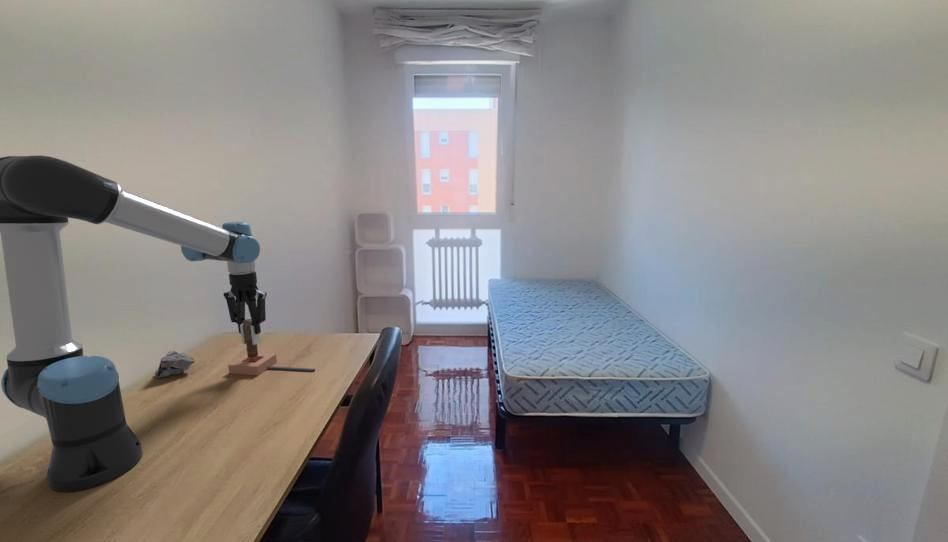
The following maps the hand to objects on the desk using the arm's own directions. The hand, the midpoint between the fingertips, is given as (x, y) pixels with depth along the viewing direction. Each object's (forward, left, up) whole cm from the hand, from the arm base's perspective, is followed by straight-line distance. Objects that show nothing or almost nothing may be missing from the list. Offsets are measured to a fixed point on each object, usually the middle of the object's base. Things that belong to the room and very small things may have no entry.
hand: (251, 342), depth 138 cm
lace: (0, -13, -9) cm, 16 cm away
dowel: (0, 0, -4) cm, 4 cm away
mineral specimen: (-7, +22, -9) cm, 25 cm away
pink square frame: (0, 0, -9) cm, 9 cm away
